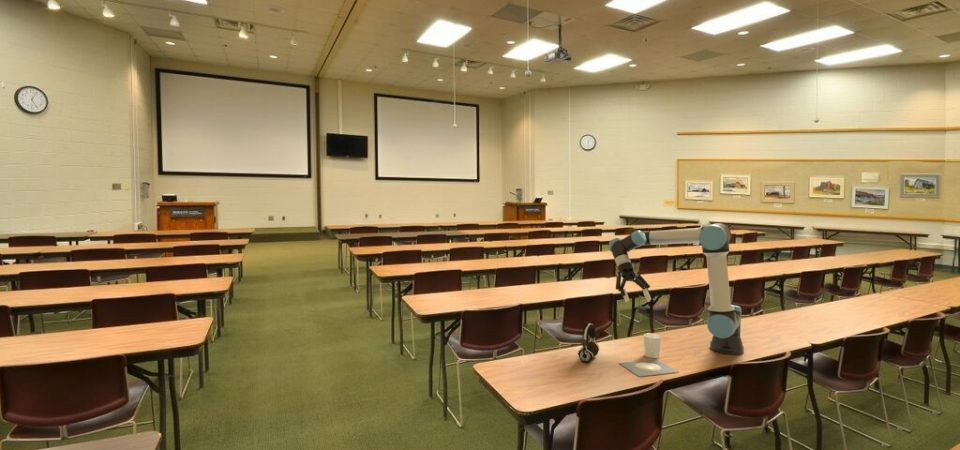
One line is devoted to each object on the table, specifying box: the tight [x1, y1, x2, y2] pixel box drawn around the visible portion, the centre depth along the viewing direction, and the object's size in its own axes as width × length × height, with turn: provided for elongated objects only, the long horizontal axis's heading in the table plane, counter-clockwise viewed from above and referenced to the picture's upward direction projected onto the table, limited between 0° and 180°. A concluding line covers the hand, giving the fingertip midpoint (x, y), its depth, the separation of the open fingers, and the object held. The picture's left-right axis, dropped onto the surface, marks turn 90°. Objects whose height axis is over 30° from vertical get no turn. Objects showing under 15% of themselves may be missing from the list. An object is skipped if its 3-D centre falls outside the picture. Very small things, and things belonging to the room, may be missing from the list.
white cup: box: [643, 333, 662, 359], centre depth 223 cm, size 8×8×10 cm
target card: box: [618, 358, 679, 378], centre depth 208 cm, size 20×16×1 cm
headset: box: [577, 321, 600, 363], centre depth 218 cm, size 17×8×20 cm, turn 150°
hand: (638, 301), depth 233 cm, fingers open, 13 cm apart
